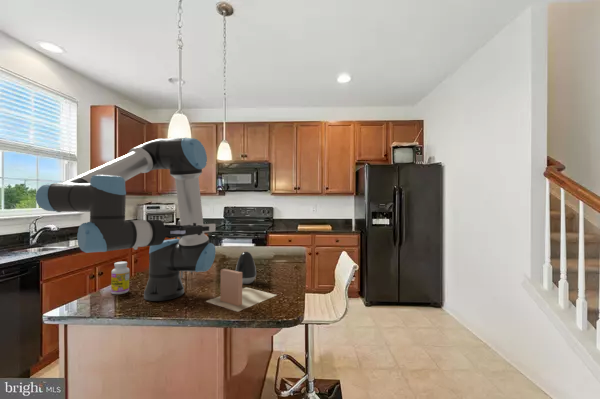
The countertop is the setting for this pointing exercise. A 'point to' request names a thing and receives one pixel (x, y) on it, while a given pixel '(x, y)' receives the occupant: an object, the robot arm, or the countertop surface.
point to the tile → (231, 287)
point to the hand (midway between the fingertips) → (214, 227)
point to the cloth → (244, 299)
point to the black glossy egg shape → (246, 267)
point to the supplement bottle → (120, 278)
